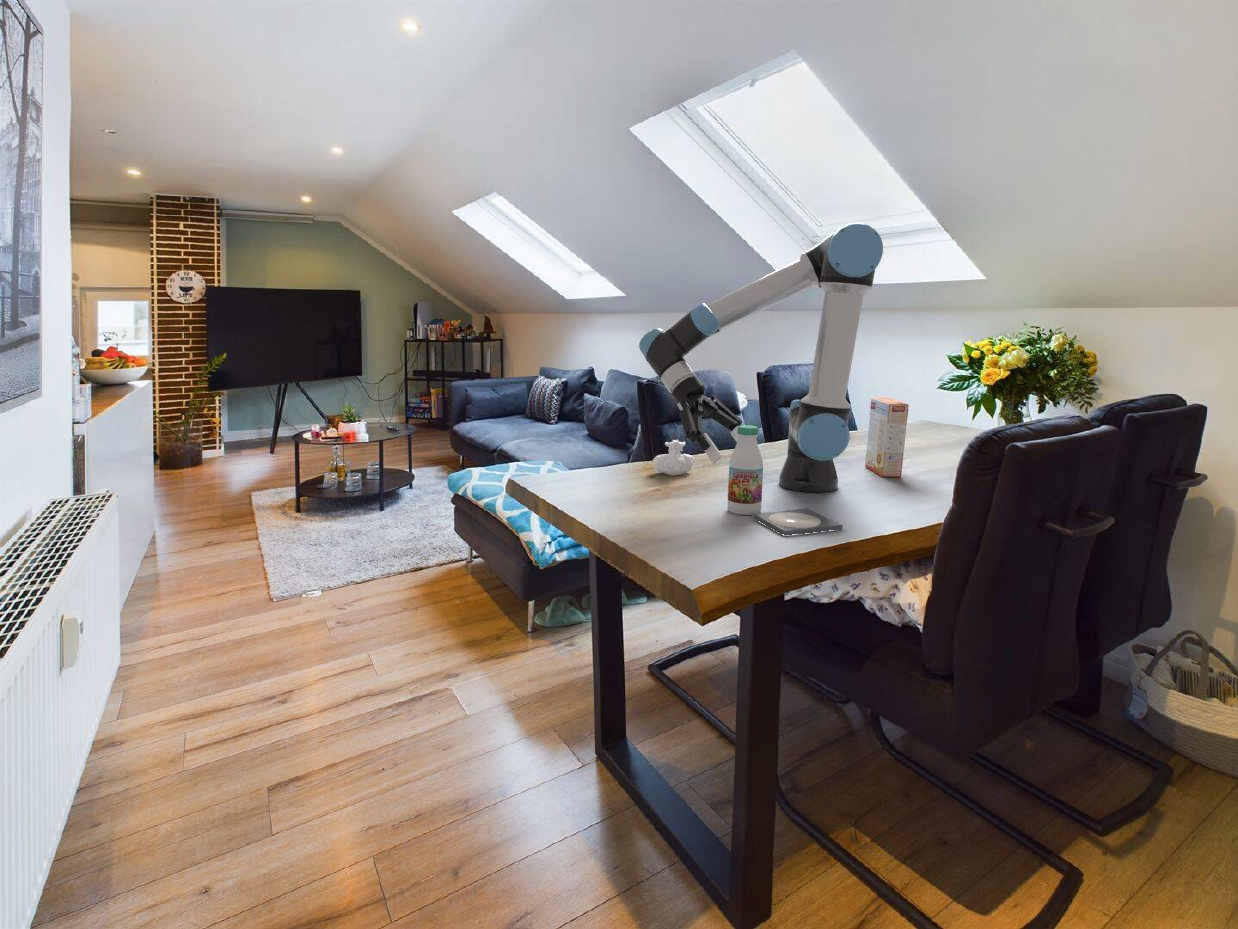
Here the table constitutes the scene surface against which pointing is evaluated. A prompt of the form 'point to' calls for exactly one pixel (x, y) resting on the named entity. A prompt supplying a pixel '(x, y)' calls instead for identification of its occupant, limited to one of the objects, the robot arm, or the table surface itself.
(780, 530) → the slate board
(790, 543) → the table surface
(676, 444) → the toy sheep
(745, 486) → the milk bottle
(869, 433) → the cracker box
